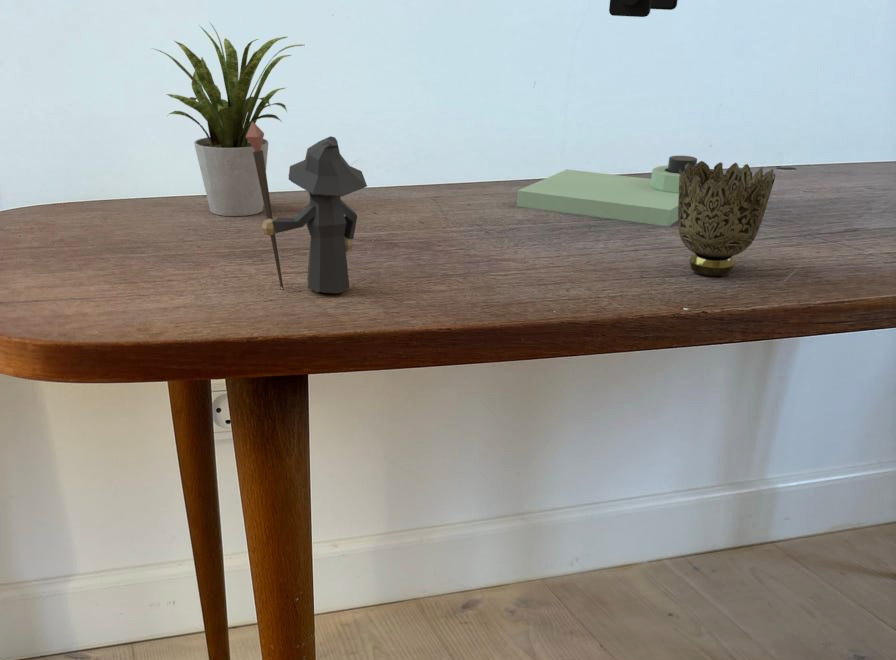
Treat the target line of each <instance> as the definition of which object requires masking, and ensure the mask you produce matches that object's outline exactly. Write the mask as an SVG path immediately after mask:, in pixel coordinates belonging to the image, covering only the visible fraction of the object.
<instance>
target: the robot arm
mask: <svg viewBox="0 0 896 660" xmlns="http://www.w3.org/2000/svg"><path fill="white" fill-rule="evenodd" d="M678 1H679V0H609V7H608V12H609V14H610V15H611V16H613V17H633V18H645V17H648V16H649V15H650V13H651V10H664V11H665V10H667V11H673V10H675V9H676V8H677V6H678Z"/></svg>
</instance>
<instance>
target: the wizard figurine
mask: <svg viewBox="0 0 896 660" xmlns="http://www.w3.org/2000/svg"><path fill="white" fill-rule="evenodd" d="M264 137H265V132H264V131H263V130H262V129H261V128H260V127H259V126H258V125H257V124H256V123H254V122H253V121H252V123H251V126H250V128H249V130H248V133H247V135H246V138H247V140H248V141H249V143H250V144H251V146H252V147H253V148H254V150H255V151H254V152H253V154H254V159H255V164H256V168H257V173H258V178H259V183H260V187H261V192H262V197H263V207H264V210H265V211H264V212H265V216H266V219H265V220H263V221H262V222H263V223H262V225H261V229H262V231H263V234H264V235H267V236H270V240H271V245H272V251H273V255H274V260H275V265H276V271H277V277H278V281H279V287H280V288H281V287H282V288H283V289H284V284H283V276H282V270H281V264H280V258H279V252H278V246H277V245H278V244H277V238H276V234H279V233H283V232H288V231H291V230H296V229H299V228H300V229H301V228H303V227H304V226H306V229H307V230H308V233H309V237H310V241H309V253H308V267H307V289H308V288H309V289H311V290H313V291H317V292H322V293H324V294H325V293H326V294H339V293H342V292H344V291H346V290H348V289H350V288H351V287H350V278H349V269H348V260H347V252H349V251H350V250H352V248H353V246H354V243H353V240H354V237H355V231H356V226H357V220H358V214H357V213H356V211H354V210H353V209H352V208H351V207H350V206H349V205H348V204H347V203H346V202H344V201H343V200H342V199H341V197H342V198H343V197H344V196H347V195H349V194H352V193H355V192H357V191H359V190H362V189H365V188H367V187H368V185H367V181H366V180H365V176H364V174H363V171H362V170H360V169H357V168H355V167H353V166H351V165H350V164H349V163H348V161H346V160H345V158H344V156H343V155H342V153H341V152H340V147H339V143H338V140H337V138H336V137H335V136H332V135H330V136H327V137H326V138H323V139H321V140H319V141H317V142H316V143H314V144H313V145H311V146H309V147H308V148H307V150H306V154H305V158H304V159H303V160H301V161H299V162H297V163H294V164H291V165H289V172H288V180H289V181H290V182H291V183H293V184H294V185H296V186H298V187H300V188H301V189H302V190H305V191H306V192H307V193H308V197H309V203H308V204H307V206H305V207H304V208H303V209H302V210H301V211H299V212H298V213H297V214H296V215H295V216H293V217H279V216H278V217H276V218H273V212H272V204H271V198H270V191H269V184H268V177H267V168H266V169H265V162H264V155H263V150H261V146H262V142H263V139H264ZM309 289H308V290H309ZM311 290H310V291H311ZM313 291H312V292H313ZM317 292H316V293H317ZM322 293H321V294H322Z"/></svg>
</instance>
